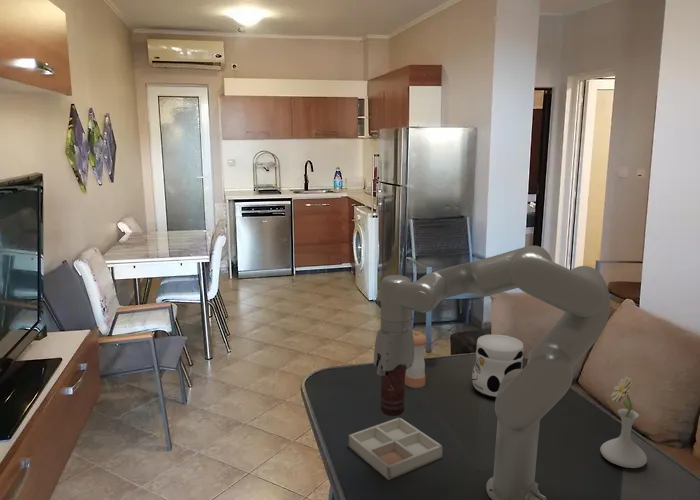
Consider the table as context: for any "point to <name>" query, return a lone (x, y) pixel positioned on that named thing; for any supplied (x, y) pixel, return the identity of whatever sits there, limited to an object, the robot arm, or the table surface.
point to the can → (393, 391)
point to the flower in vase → (624, 433)
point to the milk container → (495, 361)
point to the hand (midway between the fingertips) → (394, 392)
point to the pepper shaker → (417, 363)
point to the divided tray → (395, 447)
